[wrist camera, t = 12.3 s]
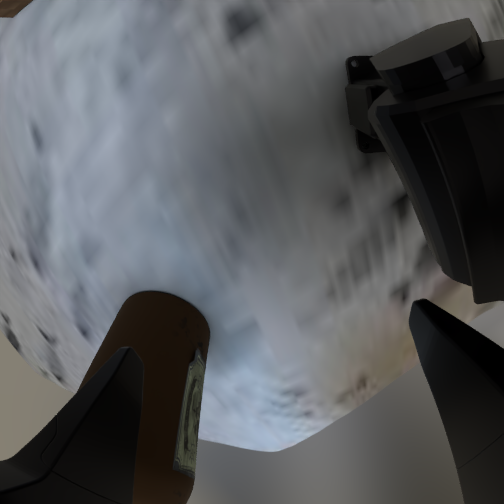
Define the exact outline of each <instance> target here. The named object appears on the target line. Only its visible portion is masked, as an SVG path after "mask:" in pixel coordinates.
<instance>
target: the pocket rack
mask: <svg viewBox="0 0 504 504" xmlns="http://www.w3.org/2000/svg"><path fill="white" fill-rule="evenodd" d="M31 1H32V0H0V17H10V18H13V17H14V16H15V15H16V14H17V13H18V12H19V11H20V10H22V9H23V8H24V7H25V6H26V5H28V4H29V3H30V2H31Z"/></svg>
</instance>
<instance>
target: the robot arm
mask: <svg viewBox="0 0 504 504" xmlns="http://www.w3.org/2000/svg"><path fill="white" fill-rule="evenodd" d="M352 60H355V61H356V62H357V66H356V67H353V66H352V64H351V61H352ZM346 68H347V74H348V80H349V84H348V85H347V86H346V87H345V91H346V97H347V104H348V111H349V119H350V125H352V126H353V127H354V128H355V132H356V141H357V147H358V149H359V150H360V151H361V152H363V153H373V152H386V151H387V153H388V155H389V157H390V159H391V161H392V163H393V165H394V167H395V169H396V171H397V173H398V175H399V177H400V179H401V181H402V183H403V185H404V187H405V190H406V192H407V194H408V196H409V199H410V201H411V203H412V205H413V208H414V210H415V212H416V215H417V217H418V220H419V222H420V225H421V227H422V230H423V232H424V235H425V238H426V240H427V243H428V246H429V249H430V251H431V253H432V254H433V256H434V258H435V259H436V261H437V263H438V264H439V265H440V266H441V268H442V271H443V273H445V274H446V275H447V276H449V277H450V278H452V279H453V280H455V281H457V282H460V283H463V284H466V285H468V286H472V291H473V298H474V302H475V303H476V304H482V303H488V302H493V301H504V39H503V40H496V41H489V42H482V41H481V39H480V37H479V35H478V33H477V32H476V30H475V28H474V26H473V24H472V22H471V21H470V19H469V18H465V19H460V20H456V21H452V22H448V23H444V24H440V25H437V26H434V27H432V28H430V29H427V30H425V31H423V32H421V33H419V34H416V35H414V36H412V37H410V38H408V39H406V40H404V41H402V42H400V43H398V44H396V45H394V46H392V47H390V48H388V49H386V50H384V51H382V52H380V53H378V54H376V55H375V56H352V57H349V58H347V60H346ZM364 142H367V147H366V148H363V147H362V144H363V143H364ZM409 327H410V330H411V333H412V336H413V339H414V343H415V346H416V349H417V352H418V356H419V359H420V362H421V366H422V368H423V371H424V374H425V376H426V379H427V381H428V384H429V386H430V389H431V391H432V394H433V397H434V399H435V402H436V405H437V407H438V410H439V413H440V416H441V419H442V422H443V425H444V428H445V431H446V434H447V437H448V441H449V444H450V447H451V450H452V454H453V457H454V461H455V465H456V468H457V473H458V477H459V481H460V485H461V490H462V494H463V499H464V503H465V504H504V349H503V348H502V347H500V346H499V345H497V344H496V343H494V342H493V341H491V340H490V339H489V338H487V337H485V336H484V335H482V334H481V333H479V332H478V331H476V330H475V329H473V328H472V327H470V326H469V325H467V324H466V323H464V322H462V321H461V320H459V319H458V318H456V317H454V316H453V315H451V314H450V313H448V312H447V311H445V310H443V309H442V308H440V307H438V306H437V305H435V304H434V303H432V302H430V301H429V300H427V299H420V300H416V301H414V302H413V303H412V307H411V312H410V317H409ZM143 378H144V364H143V362H142V360H141V359H140V357H139V356H138V354H137V353H136V352H135V350H134V349H133V348H132V347H121V348H119V349H118V350H117V351H116V352H115V353H114V354H113V355H112V356H111V357H110V359H109V360H108V361H107V362H106V363H105V364H104V365H103V366H102V367H101V368H100V369H99V370H98V371H97V372H96V373H95V374H94V375H93V376H92V377H91V378H90V379H89V380H88V381H87V382H86V384H85V385H84V386H83V387H82V388H81V389H80V390H79V391H78V392H77V393H76V394H75V395H74V396H73V398H71V399H70V400H69V402H68V403H67V404H66V405H65V406H64V407H63V408H62V409H61V410H60V411H59V412H58V413H57V415H55V417H54V418H53V419H52V420H51V421H50V422H49V423H48V424H47V425H46V426H45V427H44V428H43V429H42V430H41V431H40V432H39V433H38V434H37V435H36V436H35V437H34V438H33V439H32V440H31V441H30V442H29V443H27V445H25V446H24V447H23V448H22V449H21V450H20V451H19V452H18V453H17V454H15V455H14V456H13V457H11V458H9V459H7V460H3V461H0V504H133V490H134V476H135V464H136V454H137V444H138V435H139V427H140V420H141V412H142V401H143Z"/></svg>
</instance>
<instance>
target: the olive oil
mask: <svg viewBox="0 0 504 504" xmlns="http://www.w3.org/2000/svg"><path fill="white" fill-rule="evenodd" d="M209 339H210V330H209V326H208V324H207V322H206V320H205V318H204V317H203V316H202V315H201V313H200V312H199V311H198V310H197V309H195V308H194V307H193V306H192V305H190V304H189V303H187V302H186V301H184V300H182V299H180V298H178V297H175V296H172V295H169V294H166V293H161V292H141V293H137V294H135V295H133V296H131V297H129V298H128V299H127V300H126V301H125V302H124V304H123V305H122V307H121V309H120V311H119V313H118V314H117V316H116V318H115V320H114V322H113V324H112V325H111V327H110V329H109V331H108V333H107V335H106V337H105V339H104V341H103V342H102V344H101V346H100V348H99V350H98V352H97V354H96V356H95V357H94V359H93V361H92V363H91V365H90V367H89V369H88V371H87V373H86V375H85V377H84V379H83V381H82V383H81V385H80V387H79V389H78V391H79V390H80V389H81V388H82V387H83V386H84V385H85V384H86V382H87V381H88V380H89V379H90V378H91V377H92V376H93V375H94V374H95V373H96V372H97V371H98V370H99V369H100V368H101V367H102V366H103V365H104V364H105V363H106V362H107V361H108V360H109V359H110V357H111V356H112V355H113V354H114V353H115V352H116V351H117V350H118V349H119V348H121V347H132V348H133V349H134V350H135V352H136V353H137V354H138V356H139V357H140V359H141V360H142V362H143V364H144V378H143V401H142V412H141V420H140V427H139V435H138V444H137V454H136V464H135V476H134V490H133V504H186V503H187V501H188V499H189V497H190V495H191V492H192V490H193V485H194V480H195V467H196V454H197V441H198V430H199V420H200V410H201V401H202V392H203V383H204V375H205V368H206V360H207V353H208V346H209ZM78 391H77V392H78Z"/></svg>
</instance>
